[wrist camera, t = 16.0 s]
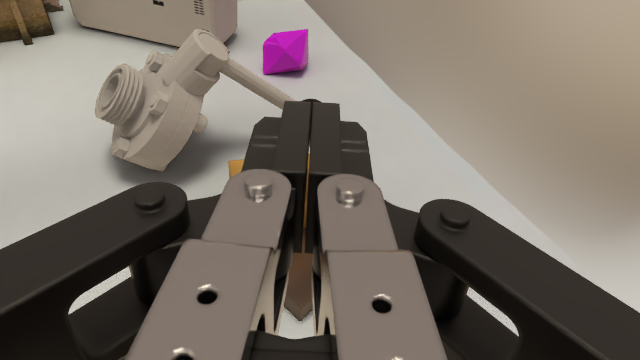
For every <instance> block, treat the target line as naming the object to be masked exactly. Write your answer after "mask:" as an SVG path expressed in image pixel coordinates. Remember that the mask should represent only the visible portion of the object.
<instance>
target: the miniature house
mask: <svg viewBox="0 0 640 360" xmlns="http://www.w3.org/2000/svg"><path fill="white" fill-rule="evenodd" d="M60 10H63V6H60V5H59V3H58V0H0V42H4V41H11V40H18V39H23V42H24V44H25V45H28V44H33V43H32V39H31V37H38V36H45V35H52V34H54V31H53V28H52V25H51V22H50V19H49V16H48V13H47V12H52V11H60Z"/></svg>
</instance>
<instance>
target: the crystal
mask: <svg viewBox="0 0 640 360" xmlns="http://www.w3.org/2000/svg"><path fill="white" fill-rule="evenodd" d="M307 64H308V29H304V30H296V31H288V32H280V33H273V34H272V35H271V36H270V37H269V38H268V39H267V40H266V41H265V42H264V45H263V71H264V75H265V74H273V73H282V72H290V71H299V70H303V69H304V68H305V66H306V65H307Z"/></svg>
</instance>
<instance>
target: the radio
mask: <svg viewBox="0 0 640 360" xmlns="http://www.w3.org/2000/svg"><path fill="white" fill-rule="evenodd" d="M69 1H70V4H71V8H72V11H73V14H74V16H75V18H77V19H78V21H79V22H80V24H81V25H83V26H86V27H92V28H96V29H101V30H105V31H110V32H114V33H119V34H123V35H128V36H132V37H137V38H141V39H146V40H150V41H155V42H159V43H164V44H168V45H173V46H177V47H181V45H182V44H183V43H184V42H185V41H186V40H187V38H188V37H189V36H190V35H191V34H192V33H193V31H194V30H195V29H201V30H206V31H207V32H209V33H211V34H213V35H214V36H215V37H217V38H218V39H219V40H220V41H221V42H222V43H224V42H225V41H226V40H227V39H228V38H229V37H230V36H231V35H232V34H233V33H234V31H235V30H236V28H237V0H69Z"/></svg>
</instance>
